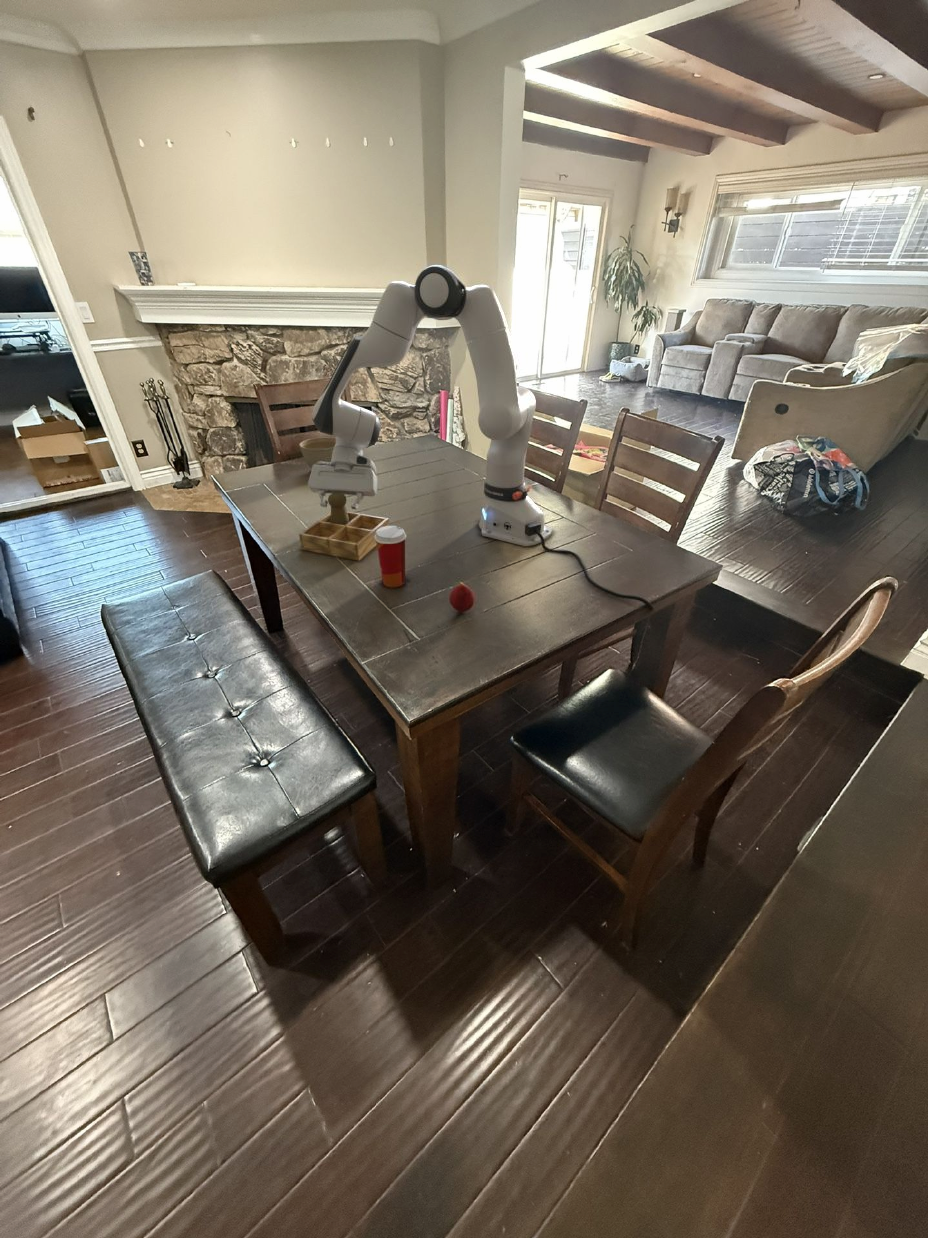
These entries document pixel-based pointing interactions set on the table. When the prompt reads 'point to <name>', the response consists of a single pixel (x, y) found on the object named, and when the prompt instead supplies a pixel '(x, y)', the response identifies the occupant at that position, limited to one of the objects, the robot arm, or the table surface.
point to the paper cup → (391, 555)
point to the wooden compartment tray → (343, 536)
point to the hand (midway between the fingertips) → (338, 507)
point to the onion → (462, 598)
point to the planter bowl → (317, 450)
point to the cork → (338, 509)
